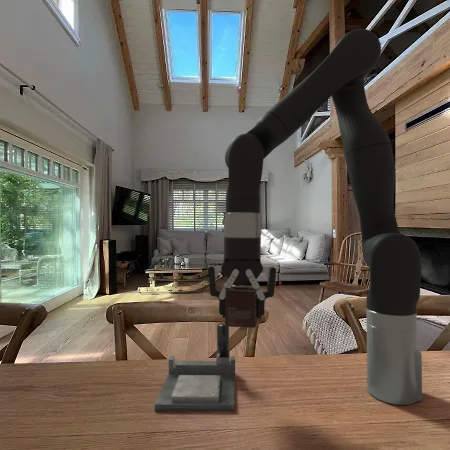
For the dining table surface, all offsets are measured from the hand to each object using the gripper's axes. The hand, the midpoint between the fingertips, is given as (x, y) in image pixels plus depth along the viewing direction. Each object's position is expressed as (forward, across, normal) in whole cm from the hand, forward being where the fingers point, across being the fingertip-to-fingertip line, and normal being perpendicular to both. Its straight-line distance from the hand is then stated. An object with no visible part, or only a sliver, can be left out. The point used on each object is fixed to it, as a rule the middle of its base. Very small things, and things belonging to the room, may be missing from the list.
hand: (241, 317), depth 66 cm
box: (+2, 0, 0) cm, 2 cm away
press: (+16, +9, -3) cm, 19 cm away
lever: (+13, +4, -9) cm, 16 cm away
